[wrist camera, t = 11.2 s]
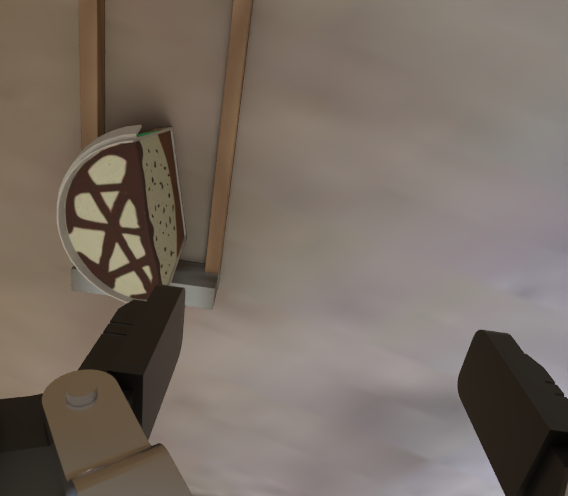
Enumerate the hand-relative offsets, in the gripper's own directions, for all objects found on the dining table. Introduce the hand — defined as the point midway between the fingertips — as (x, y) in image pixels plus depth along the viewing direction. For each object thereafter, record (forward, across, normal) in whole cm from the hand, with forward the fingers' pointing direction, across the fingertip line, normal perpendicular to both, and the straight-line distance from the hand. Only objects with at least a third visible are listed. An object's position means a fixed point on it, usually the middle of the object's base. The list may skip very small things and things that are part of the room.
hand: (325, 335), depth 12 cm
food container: (+26, +13, +5) cm, 29 cm away
